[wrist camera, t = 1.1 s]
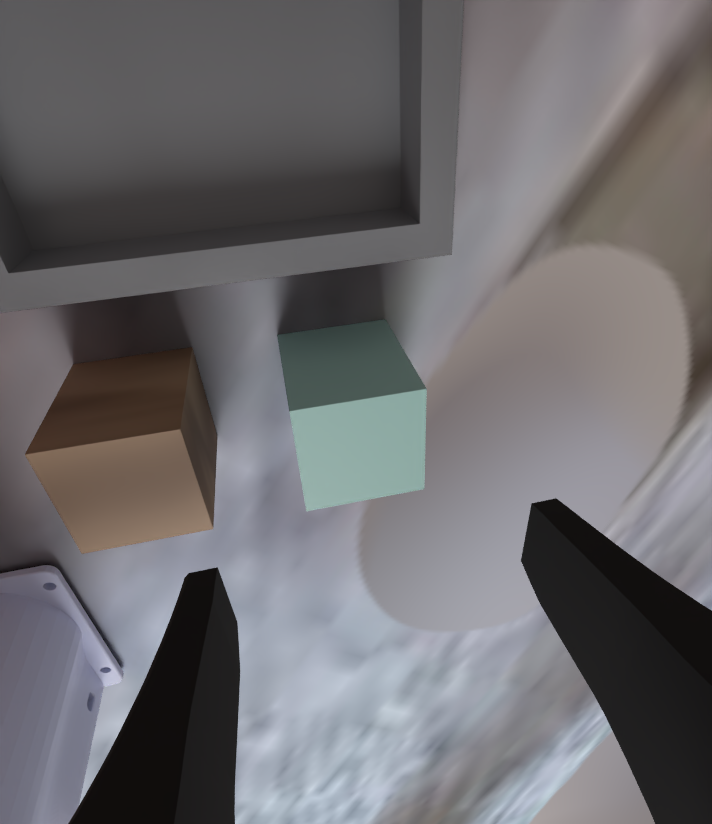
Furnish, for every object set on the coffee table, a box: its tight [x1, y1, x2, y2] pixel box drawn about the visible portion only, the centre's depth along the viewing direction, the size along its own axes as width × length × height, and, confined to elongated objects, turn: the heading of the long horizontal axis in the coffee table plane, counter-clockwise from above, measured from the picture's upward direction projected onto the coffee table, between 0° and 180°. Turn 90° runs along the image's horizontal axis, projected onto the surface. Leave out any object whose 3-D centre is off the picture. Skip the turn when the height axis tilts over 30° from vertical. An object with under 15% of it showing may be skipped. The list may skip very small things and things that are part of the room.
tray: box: [0, 0, 464, 313], centre depth 13 cm, size 9×13×2 cm
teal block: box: [277, 319, 427, 511], centre depth 18 cm, size 4×4×5 cm
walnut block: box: [25, 347, 217, 554], centre depth 17 cm, size 4×4×5 cm
